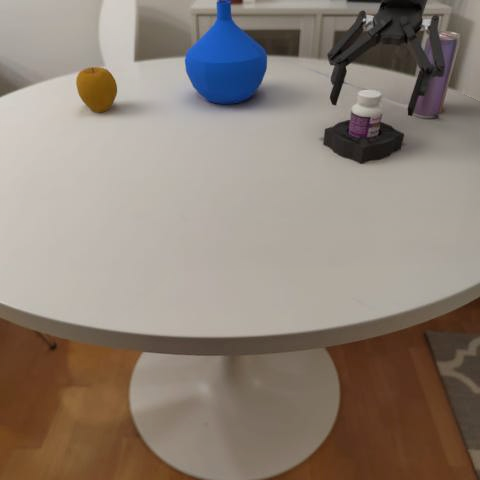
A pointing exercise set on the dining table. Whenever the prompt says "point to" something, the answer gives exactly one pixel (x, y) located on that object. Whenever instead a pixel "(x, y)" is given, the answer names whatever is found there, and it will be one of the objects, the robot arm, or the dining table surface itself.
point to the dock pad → (363, 142)
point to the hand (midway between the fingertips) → (370, 106)
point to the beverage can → (438, 85)
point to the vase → (226, 61)
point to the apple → (96, 88)
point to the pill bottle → (366, 115)
